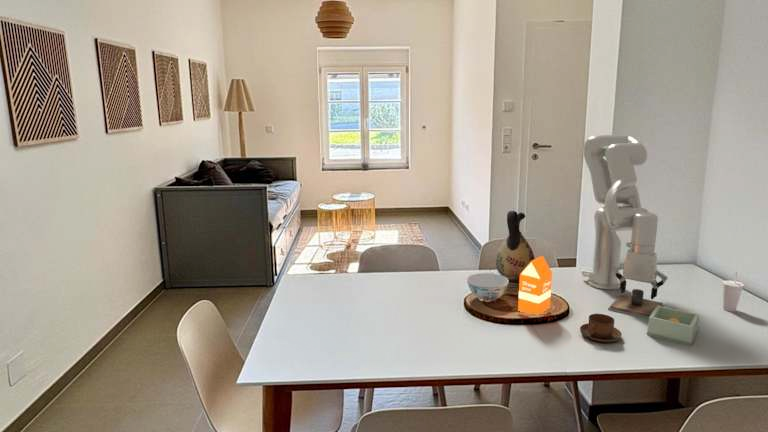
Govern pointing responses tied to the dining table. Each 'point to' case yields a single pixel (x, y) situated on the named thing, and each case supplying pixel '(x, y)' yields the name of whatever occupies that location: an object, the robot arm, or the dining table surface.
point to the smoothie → (731, 294)
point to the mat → (629, 312)
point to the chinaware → (487, 285)
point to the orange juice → (535, 287)
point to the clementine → (674, 320)
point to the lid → (635, 303)
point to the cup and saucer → (600, 328)
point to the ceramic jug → (514, 251)
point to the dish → (673, 325)
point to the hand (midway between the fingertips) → (637, 295)
